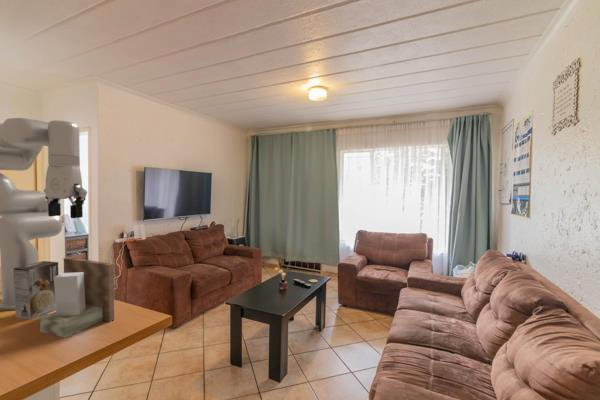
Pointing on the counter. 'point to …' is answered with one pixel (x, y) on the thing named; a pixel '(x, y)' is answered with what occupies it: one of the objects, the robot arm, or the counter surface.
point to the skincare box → (69, 294)
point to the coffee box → (35, 289)
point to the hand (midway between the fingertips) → (65, 216)
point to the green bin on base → (96, 299)
